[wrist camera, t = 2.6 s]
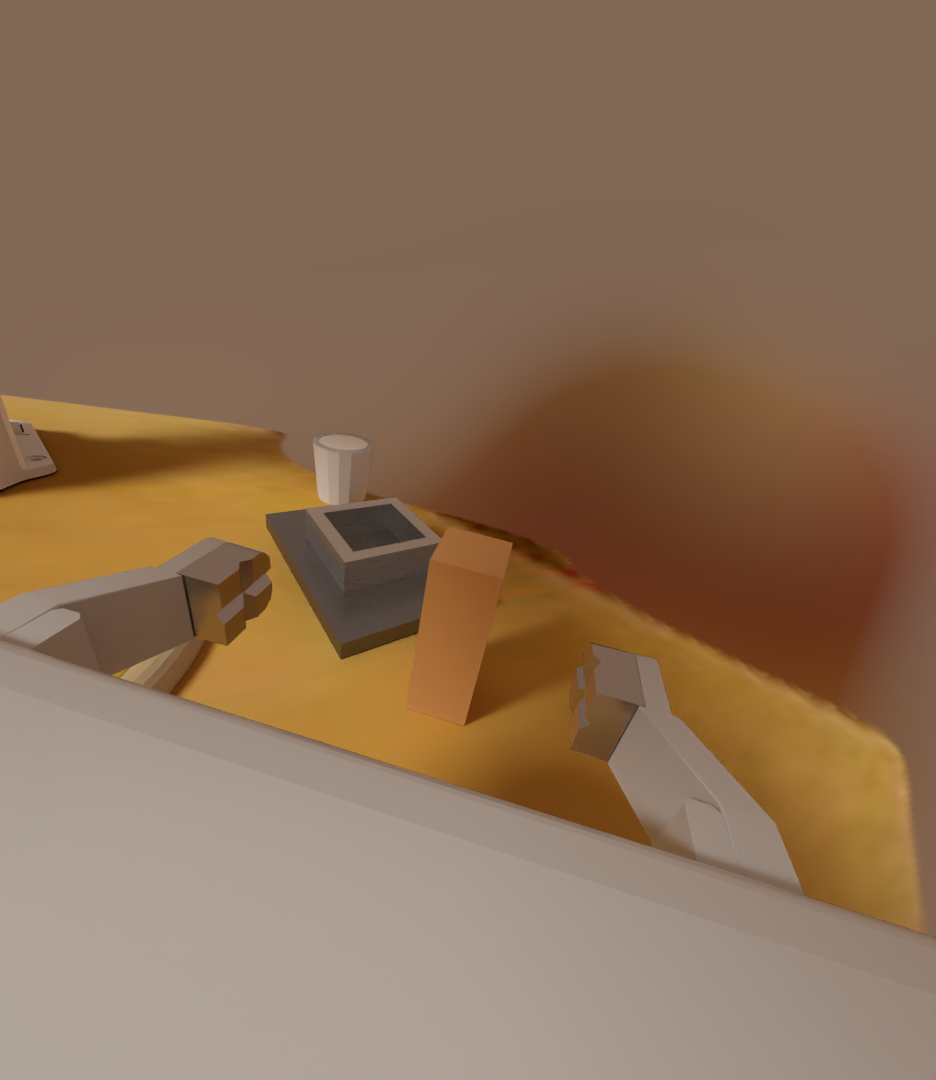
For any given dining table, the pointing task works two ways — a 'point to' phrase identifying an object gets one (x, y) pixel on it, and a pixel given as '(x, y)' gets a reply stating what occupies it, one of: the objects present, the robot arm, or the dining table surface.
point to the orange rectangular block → (456, 622)
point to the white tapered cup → (342, 467)
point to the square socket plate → (358, 568)
